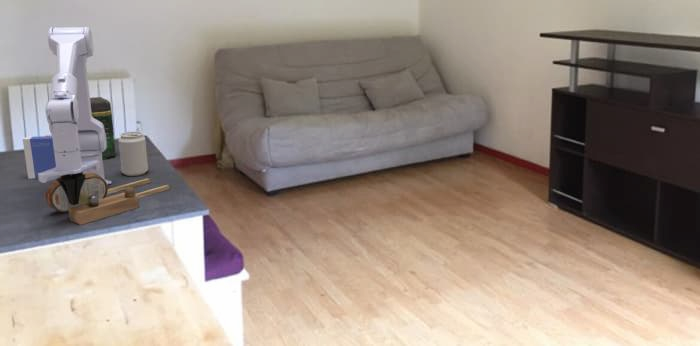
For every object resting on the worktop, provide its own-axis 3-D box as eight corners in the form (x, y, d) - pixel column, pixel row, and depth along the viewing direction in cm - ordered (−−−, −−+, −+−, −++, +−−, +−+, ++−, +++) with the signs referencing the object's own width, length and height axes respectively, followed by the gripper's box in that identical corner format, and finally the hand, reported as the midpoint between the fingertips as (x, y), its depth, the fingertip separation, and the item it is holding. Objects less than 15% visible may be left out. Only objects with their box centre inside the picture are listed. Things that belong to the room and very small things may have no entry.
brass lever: (100, 204, 169) (99, 196, 168) (92, 207, 167) (91, 198, 167) (85, 198, 173) (84, 190, 173) (76, 200, 172) (75, 192, 171)
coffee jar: (118, 157, 220) (112, 99, 214) (92, 161, 216) (85, 102, 210) (113, 150, 228) (107, 94, 222) (87, 153, 224) (80, 96, 219)
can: (140, 177, 200) (137, 137, 196) (116, 176, 201) (112, 135, 198) (153, 170, 207) (149, 130, 203) (129, 168, 208) (125, 129, 205)
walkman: (59, 174, 203) (53, 134, 199) (56, 177, 200) (50, 137, 196) (31, 175, 202) (25, 135, 198) (27, 178, 199) (21, 137, 196)
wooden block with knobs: (69, 220, 168) (67, 200, 166) (128, 202, 180) (126, 184, 178) (80, 225, 165) (78, 205, 163) (139, 207, 176) (137, 188, 175)
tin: (105, 199, 182) (102, 169, 179) (111, 202, 180) (107, 171, 177) (47, 213, 172) (42, 181, 170) (52, 217, 170) (47, 184, 167)
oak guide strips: (99, 195, 185) (99, 191, 185) (147, 181, 196) (147, 178, 196) (120, 203, 179) (120, 199, 179) (169, 189, 190) (169, 185, 190)
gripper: (45, 159, 157) (53, 215, 161) (104, 146, 167) (110, 199, 171) (30, 153, 161) (38, 208, 165) (88, 141, 172) (94, 193, 176)
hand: (74, 203), depth 168 cm, fingers closed
